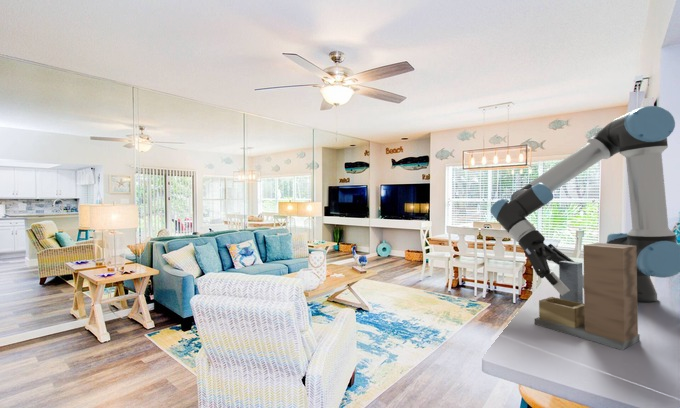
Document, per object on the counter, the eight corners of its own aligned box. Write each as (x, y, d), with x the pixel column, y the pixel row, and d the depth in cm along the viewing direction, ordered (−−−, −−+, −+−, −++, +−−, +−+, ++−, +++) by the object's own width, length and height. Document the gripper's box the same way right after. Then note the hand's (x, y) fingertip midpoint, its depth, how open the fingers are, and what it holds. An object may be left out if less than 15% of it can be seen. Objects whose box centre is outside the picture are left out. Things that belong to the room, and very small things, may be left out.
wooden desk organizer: (553, 317, 99) (552, 238, 99) (639, 340, 81) (638, 245, 81) (534, 323, 93) (533, 241, 94) (622, 350, 76) (620, 248, 76)
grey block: (564, 311, 104) (564, 260, 104) (583, 315, 100) (582, 262, 100) (559, 313, 102) (559, 261, 102) (578, 317, 98) (577, 264, 98)
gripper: (539, 241, 121) (587, 290, 108) (497, 246, 108) (545, 303, 95) (554, 227, 116) (606, 277, 103) (512, 230, 104) (565, 288, 91)
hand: (577, 289), depth 99 cm, fingers open, 13 cm apart
